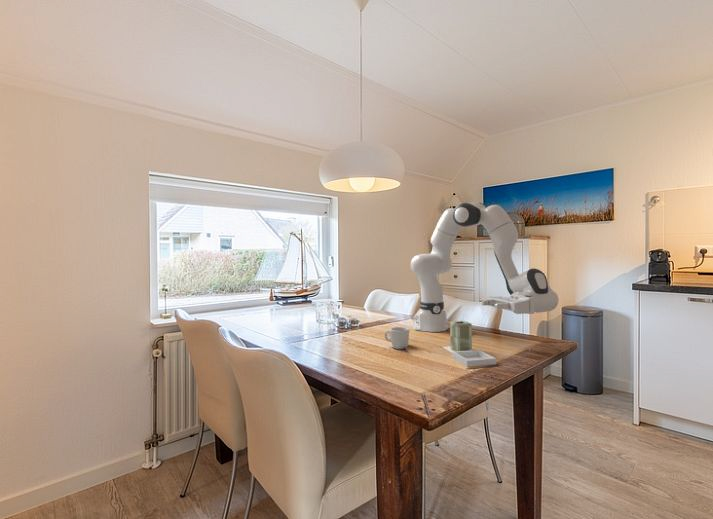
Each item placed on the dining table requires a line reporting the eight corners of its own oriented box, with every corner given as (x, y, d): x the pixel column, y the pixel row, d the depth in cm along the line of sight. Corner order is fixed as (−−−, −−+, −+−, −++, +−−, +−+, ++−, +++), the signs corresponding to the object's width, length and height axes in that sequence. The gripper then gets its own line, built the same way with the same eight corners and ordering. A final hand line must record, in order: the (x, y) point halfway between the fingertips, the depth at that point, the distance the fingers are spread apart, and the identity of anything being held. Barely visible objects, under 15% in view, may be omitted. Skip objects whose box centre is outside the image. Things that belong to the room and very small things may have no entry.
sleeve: (450, 348, 143) (450, 321, 142) (464, 347, 144) (464, 320, 144) (457, 352, 137) (457, 324, 137) (471, 351, 138) (471, 323, 138)
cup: (381, 348, 149) (381, 329, 149) (388, 343, 156) (388, 325, 156) (405, 351, 144) (405, 331, 144) (412, 346, 151) (411, 327, 151)
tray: (452, 359, 132) (452, 351, 132) (479, 357, 134) (479, 349, 134) (467, 369, 121) (466, 360, 121) (496, 366, 123) (496, 358, 123)
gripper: (504, 292, 155) (475, 294, 152) (536, 297, 135) (504, 299, 132) (504, 307, 155) (475, 308, 152) (537, 314, 135) (504, 316, 132)
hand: (489, 304), depth 142 cm, fingers open, 8 cm apart
